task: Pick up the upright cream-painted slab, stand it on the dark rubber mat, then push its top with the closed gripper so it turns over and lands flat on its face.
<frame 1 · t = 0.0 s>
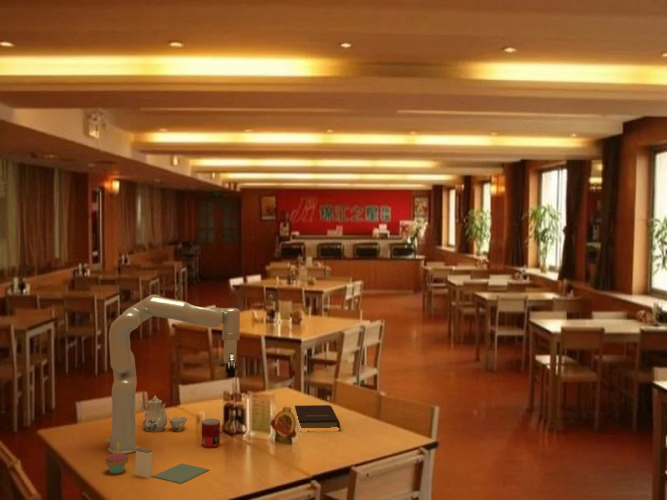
hand: (230, 374, 311), 31 cm above the table, tool pointing down, fingers open, 9 cm apart
slab: (143, 475, 272), on the table
mat: (181, 473, 275), on the table
book: (316, 424, 349), on the table
canned food: (210, 446, 311), on the table
chinaware: (159, 428, 336), on the table
cupcake: (116, 472, 276), on the table
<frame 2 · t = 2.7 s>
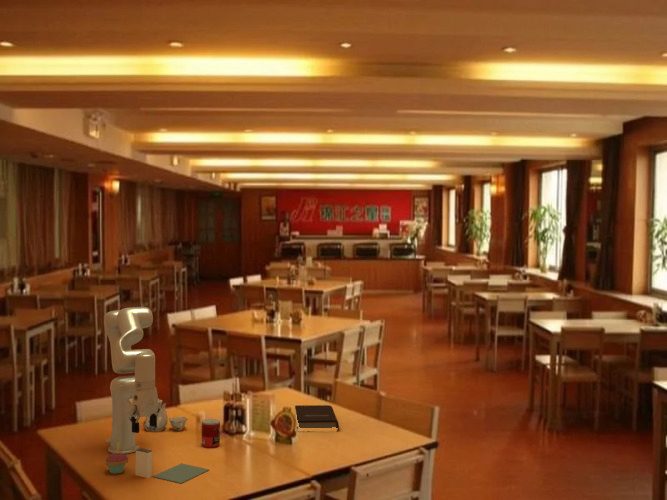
hand: (144, 429, 272), 18 cm above the table, tool pointing down, fingers open, 9 cm apart
nothing on the table moved.
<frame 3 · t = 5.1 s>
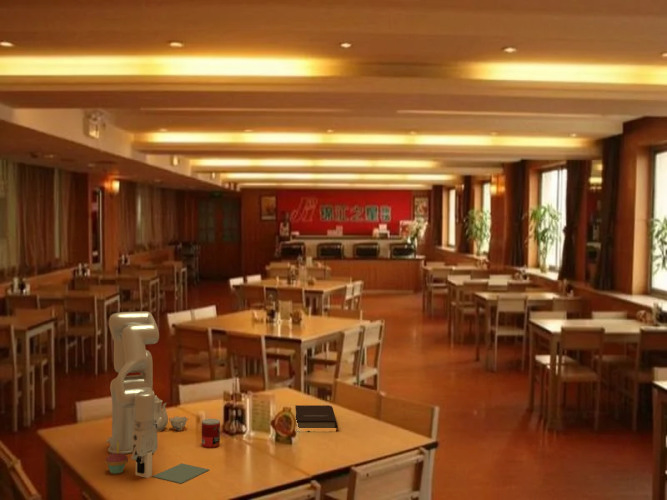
hand: (143, 471, 272), 2 cm above the table, tool pointing down, fingers closed on slab, 2 cm apart
slab: (143, 475, 272), on the table, touching gripper
everything else where it was.
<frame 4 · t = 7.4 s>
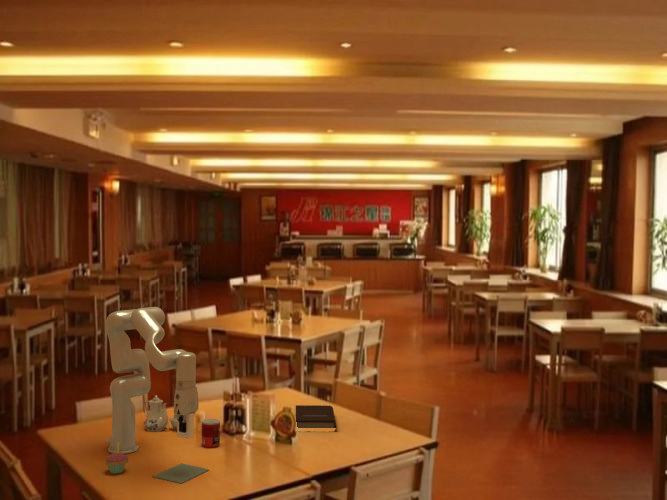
hand: (185, 430, 276), 16 cm above the table, tool pointing down, fingers closed on slab, 2 cm apart
slab: (185, 436, 277), point 14 cm above the table, touching gripper
when the fingers open (3 cm above the table, at t = 9.9 s): slab stays where it is, resting on mat.
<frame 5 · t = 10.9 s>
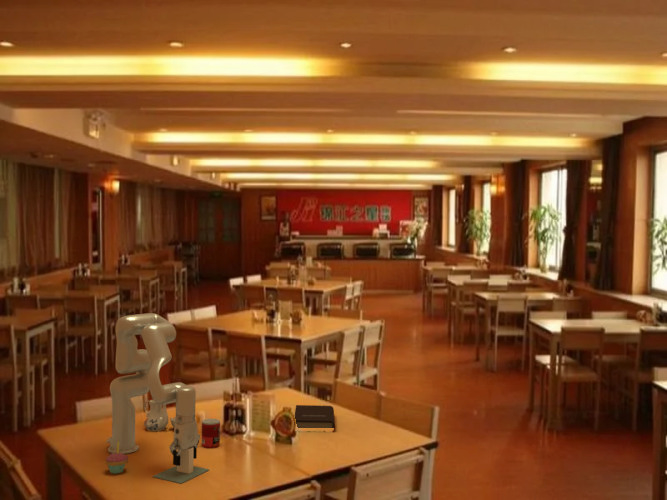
hand: (184, 461, 277), 4 cm above the table, tool pointing down, fingers open, 9 cm apart
slab: (185, 471, 277), resting on mat
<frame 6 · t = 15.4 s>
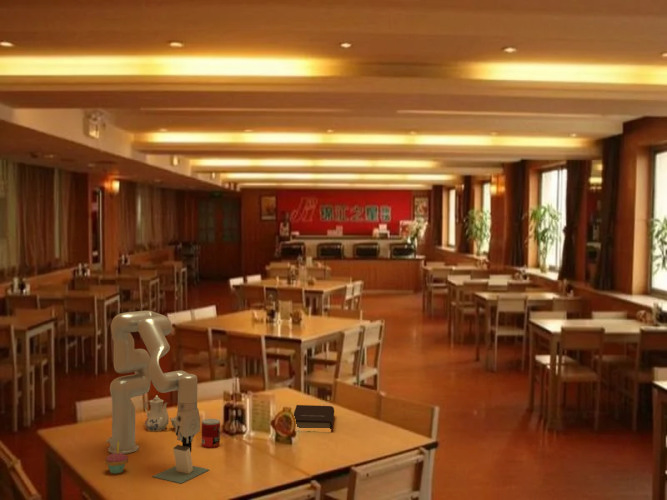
hand: (186, 452, 278), 8 cm above the table, tool pointing down, fingers closed
slab: (185, 470, 277), point 1 cm above the table, tilted 13°, touching mat
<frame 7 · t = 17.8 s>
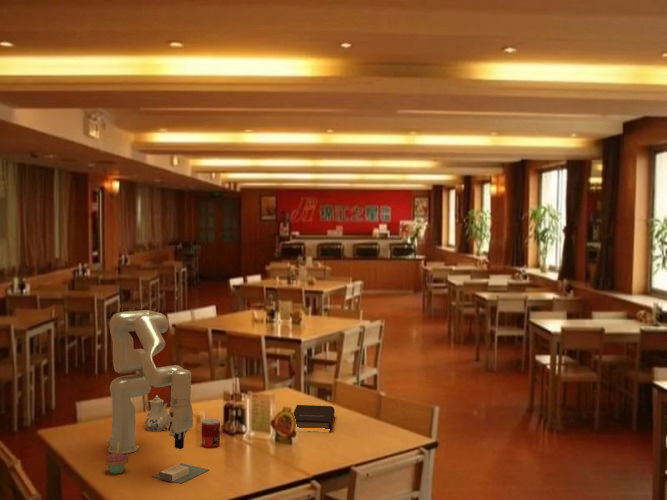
hand: (179, 447, 275), 10 cm above the table, tool pointing down, fingers closed
slab: (182, 469, 276), point 2 cm above the table, tilted 90°, touching mat
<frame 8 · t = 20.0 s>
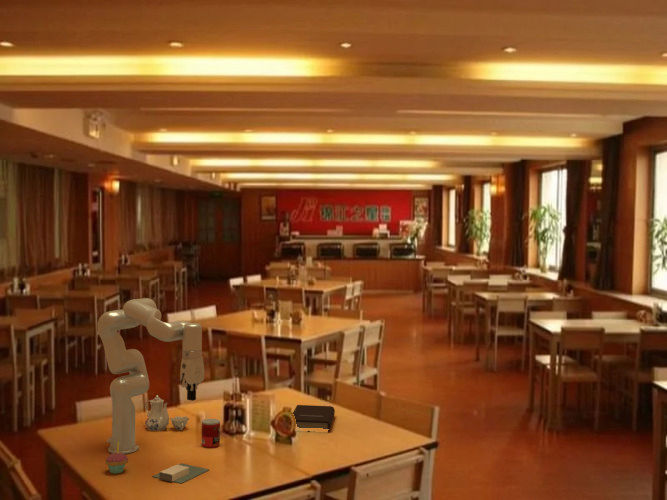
hand: (191, 399, 282), 27 cm above the table, tool pointing down, fingers closed
at the end: slab tilted 90°; slab inside the target area on the mat (0.5 cm from its centre), point 1.7 cm above the mat's base; the gripper is holding nothing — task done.
